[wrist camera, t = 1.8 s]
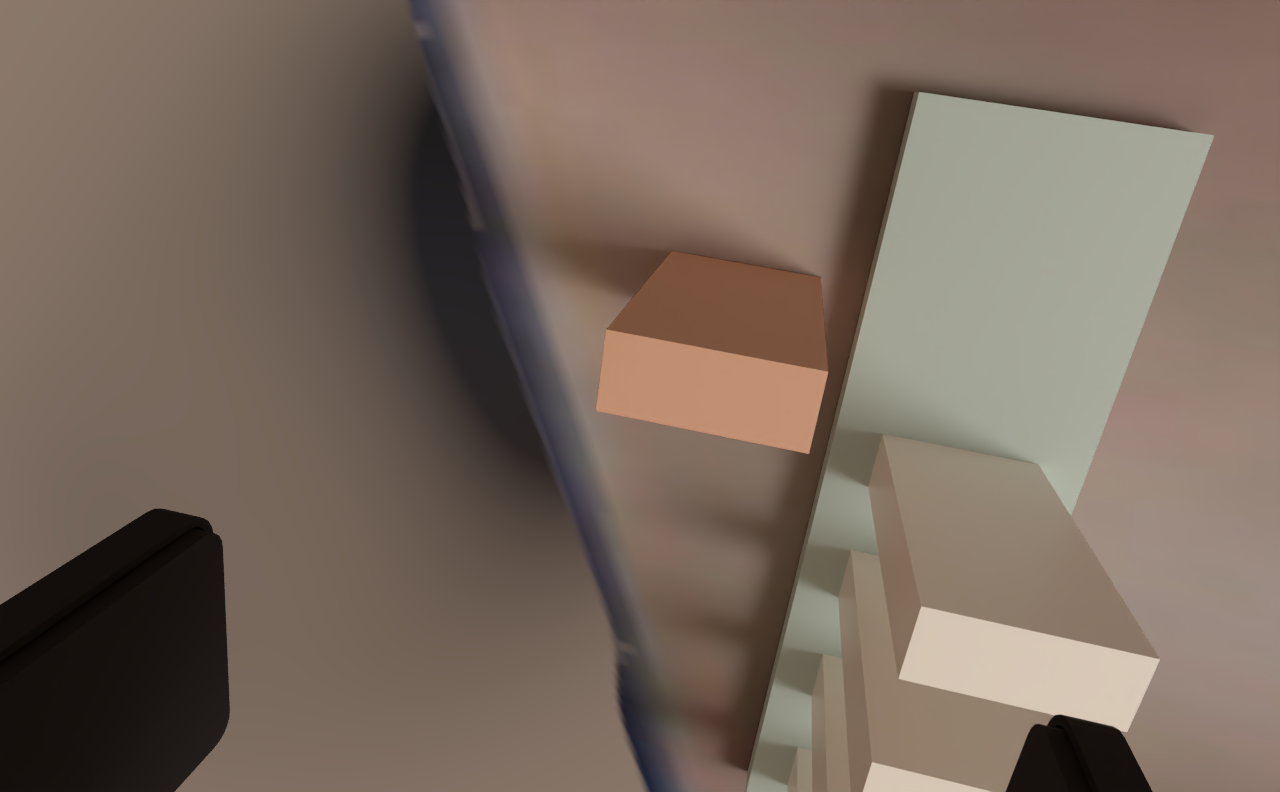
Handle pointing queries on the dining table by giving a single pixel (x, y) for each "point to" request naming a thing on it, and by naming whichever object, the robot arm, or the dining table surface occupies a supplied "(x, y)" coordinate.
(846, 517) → the board
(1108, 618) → the domino
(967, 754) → the domino
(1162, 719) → the dining table surface
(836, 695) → the domino
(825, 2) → the dining table surface
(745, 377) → the domino
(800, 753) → the domino
